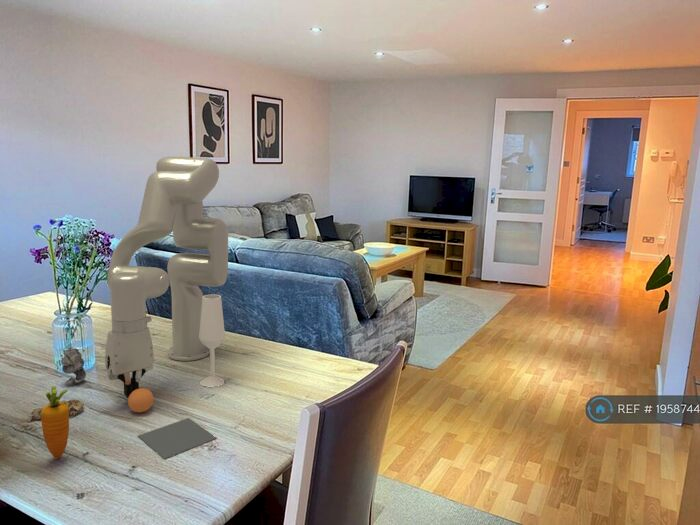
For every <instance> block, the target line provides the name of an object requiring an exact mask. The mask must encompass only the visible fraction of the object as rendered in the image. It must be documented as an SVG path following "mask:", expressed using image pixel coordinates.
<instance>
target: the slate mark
mask: <svg viewBox="0 0 700 525" xmlns="http://www.w3.org/2000/svg"><path fill="white" fill-rule="evenodd" d="M213 435H214V434H212V433H211V432H209V431H208V430H206V429H205V428H204V427H202V426H201V425H199V424H198V423H197V422H195V421H194V420H192V419H191V418H189V417H187V418H184V419H181V420H179V421H176V422H174V423H171V424H167V425H164V426H161V427H159V428H155V429H153V430H150V431H147V432H143V433H142V434H139V435H137V437H138V439H139V440H141V441H142V442H144V443H145V444H146V445H147V446H148V447H149V448H151V449H152V450H153V451H154V452H155V453H156V452H157V453H158V454H157V453H156V454H157V455H159V456H160V457H161V458H162V459H163V460H164V459H165V460H167V459H170V458H172V457H174V456H173V455H175V456H176V454H177V455H179V454H178V453H180V454H182V453H185V452H186V450H187V451H189V449H190V450H192V449H195V448H197V447H199V446H198V445H200V446H202V445H204V444H203V443H205V444H207V443H209V441H210V442H212V441H214V440H213V439H215V440H216V438H217V439H218V437H217V436H215V435H214V436H215V437H214V436H213ZM211 440H212V441H211ZM206 442H207V443H206ZM201 444H202V445H201ZM196 446H197V447H196ZM194 447H195V448H194ZM191 448H192V449H191ZM184 451H185V452H184ZM181 452H182V453H181ZM171 456H172V457H171ZM169 457H170V458H169ZM166 458H167V459H166Z"/></svg>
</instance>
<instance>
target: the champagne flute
mask: <svg viewBox="0 0 700 525" xmlns="http://www.w3.org/2000/svg"><path fill="white" fill-rule="evenodd" d="M223 312H224V310H223V302H222V296H221V295H220V294H205V295H203V297H202V309H201V320H200V332H199V339H200V341H201V342H202V343H203V344H204V345H205V346H206V347H207V348H209V349H210V354H209V365H210V366H209V374H210V375H209V376H207V377H206V378H204V379H202V380H200V382H201V384H202V385H203V386H210V387H211V386H218V385H221V384H223V383H224V380H225V379H224V378H222V377H219V376H217V375H216V374H215V373H216V372H215V368H216V367H215V366H216V365H215V364H216V363H215V358H216V357H215V349H216V348H218V347H219V346H220V345H221V344H222V343H223V342H224V340H225V338H226V333H225V332H226V331H225V322H224V313H223ZM223 379H224V380H223ZM224 384H225V383H224ZM224 384H223V385H224ZM203 386H202V387H203ZM221 386H222V385H221Z"/></svg>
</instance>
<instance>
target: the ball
mask: <svg viewBox="0 0 700 525" xmlns="http://www.w3.org/2000/svg"><path fill="white" fill-rule="evenodd" d="M127 398H128V397H127ZM154 400H155V399H154V395H153V392H151V391H150V389H148V388H146V387H145V388H144V387H141V388H140V387H139V389H136V390H134V391H133V392H132V393H131V394H130V396H129V398H128V399H127V404H128V407H129V408H130V410H131V411H133V412H135V413H145V412H147V411H149V409H151V407H152V406H153V404H154Z"/></svg>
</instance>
